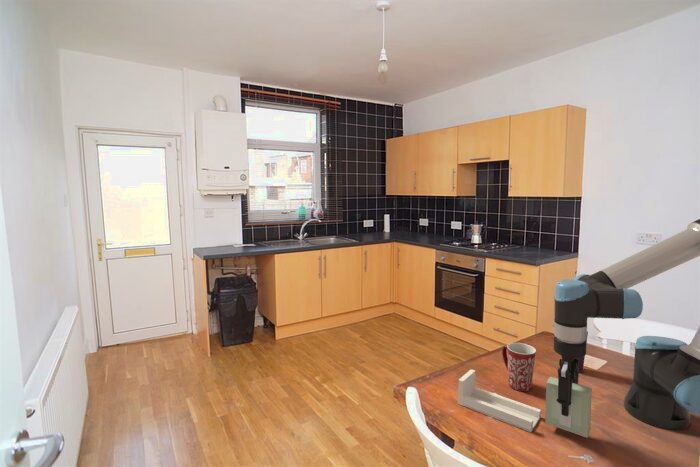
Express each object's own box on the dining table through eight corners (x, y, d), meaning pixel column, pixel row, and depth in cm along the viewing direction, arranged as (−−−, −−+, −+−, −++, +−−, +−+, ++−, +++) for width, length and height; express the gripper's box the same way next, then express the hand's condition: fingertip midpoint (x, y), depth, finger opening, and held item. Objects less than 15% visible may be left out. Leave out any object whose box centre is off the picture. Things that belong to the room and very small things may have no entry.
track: (540, 417, 110) (541, 391, 109) (531, 432, 103) (532, 405, 103) (470, 392, 124) (471, 369, 123) (458, 403, 118) (458, 379, 117)
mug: (540, 390, 125) (542, 351, 123) (518, 395, 122) (519, 355, 121) (514, 372, 137) (515, 337, 135) (493, 376, 134) (494, 340, 133)
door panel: (590, 429, 101) (591, 387, 99) (587, 438, 98) (588, 394, 96) (549, 416, 107) (550, 376, 106) (545, 423, 104) (546, 382, 103)
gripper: (562, 325, 109) (560, 401, 111) (545, 345, 96) (543, 431, 98) (592, 331, 104) (590, 411, 106) (578, 353, 91) (576, 443, 93)
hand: (567, 420), depth 102 cm, fingers closed on door panel, 4 cm apart
